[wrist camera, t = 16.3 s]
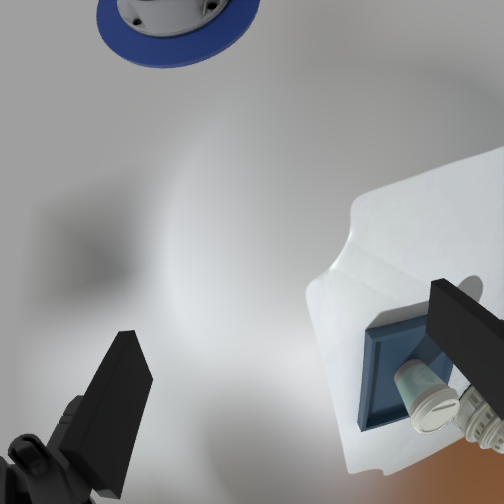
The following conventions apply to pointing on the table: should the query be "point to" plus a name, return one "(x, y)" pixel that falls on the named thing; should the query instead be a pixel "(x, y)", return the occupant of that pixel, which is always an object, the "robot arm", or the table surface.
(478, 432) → the dome
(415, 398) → the coffee cup
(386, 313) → the table surface
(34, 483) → the robot arm
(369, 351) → the tray
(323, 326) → the table surface
